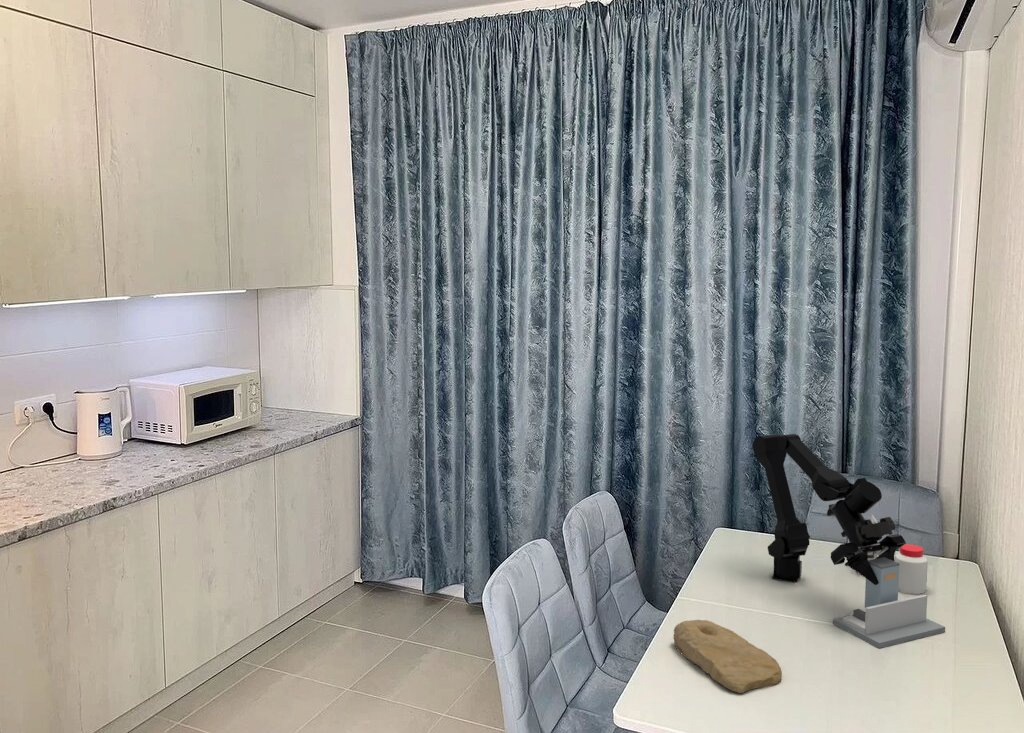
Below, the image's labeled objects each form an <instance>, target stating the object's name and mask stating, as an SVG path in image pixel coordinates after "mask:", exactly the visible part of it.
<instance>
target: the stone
mask: <svg viewBox="0 0 1024 733" xmlns="http://www.w3.org/2000/svg"><path fill="white" fill-rule="evenodd" d="M672 636H673V641H674V647H675V649H676V648H677V649H678V650H679V651H680V652H681V653H682V654H681V653H680V652H679V651H678V650H677V649H676V650H677V651H678V652H679V653H680V654H681V655H682V656H683V655H684V657H685V658H686V659H687V660H689V661H690V662H692V663H693V664H695V665H697V666H698V667H700V668H701V669H702V670H703V671H704V672H705V673H706V674H709V676H710V678H712V680H715V681H716V683H719V684H721V685H722V686H723V687H725V688H726V689H728V690H729V691H732V692H735V693H738V694H743V693H745V692H748V691H750V690H754V689H756V688H757V689H758V688H764V687H769V686H771V687H772V686H774V685H778V684H779V683H780V681H781V680H782V678H783V671H782V667H781V666H780V664H779V662H778V661H777V660H776V659H775V658H774V657H772V655H770V654H769V653H768V652H766V651H765V650H763V649H761V648H759V647H757V646H756V645H754V644H752V643H750V642H749V641H748V640H747V639H745V638H743V637H742V636H741V635H739V634H738V633H736V632H734V631H733V630H731V629H729V628H726V627H724V626H721V625H719V624H716V623H715V622H713V621H710V620H707V619H691V620H683V621H681V622H680V623H677V624H676V625H675V626H674V628H673V635H672Z"/></svg>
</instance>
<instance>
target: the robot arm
mask: <svg viewBox="0 0 1024 733" xmlns="http://www.w3.org/2000/svg"><path fill="white" fill-rule="evenodd" d="M752 450H753V452H754V455H755V458H756V460H757V462H758V463H759V464H760V465H761V466H762V467H763V469H764V470H765V474H766V479H767V483H768V488H769V491H770V495H771V499H772V504H773V507H774V511H775V516H776V521H777V522H776V524H775V527H774V532H773V533H774V540H773V541H772V542H771V543H770V544H769V545H768V546H767V552H768V553H767V554H768V555H769V556H771V557H773V574H772V576H771V579H773V580H776V581H777V580H778V581H784V582H790V583H791V582H792V583H798V581H799V580H800V579H801V577H802V575H803V574H802V572H803V571H802V569H803V567H802V565H803V564H802V563H803V562H802V560H800V559H801V556H806V553H807V551H808V548H809V546H810V538H811V536H810V534H809V532H808V531H809V530H808V525H807V524H806V522H801V521H800V519H799V518H798V517H797V515H796V512H795V511H796V510H795V506H794V503H793V498H792V494H791V491H790V486H789V482H788V479H787V474H786V469H785V467H784V464H785V460H786V457H787V455H788V456H789V457H790V458H791V459H792V461H793V462H794V463H795V464H796V465H797V466H798V467H799V468H800V469H801V470H802V471H803V472H804V474H806V476H807V477H808V478H809V479H810V481H811V488H812V489H813V491H814V492H815V494H816V495H817V497H818V498H819V499H820V500H821V501H823V502H831V501H836V502H835V503H832V504H828V509H827V513H826V516H828V517H830V516H835V518H836V521H837V522H838V524H839V526H840V527H841V529H842V532H841V533H840V534H841V537H842V538H845V537H846V538H847V540H848V541H849V542H847V543H841V544H840V545H838V546H837V547H836V548H835V549H833V551H831V552H830V560H831V561H832V563H833V565H834V566H835V565H836V566H837V565H842V564H844V566H846V567H849V568H851V569H852V570H853V571H855V572H856V573H857V572H858V573H860V574H861V575H860V576H862V577H863V578H865V580H866V579H868V580H869V581H870V582H872V583H873V584H874V585H877V584H878V583H879V582H878V580H877V577H876V575H875V573H874V571H873V570H872V568H871V566H870V564H869V562H868V553H870V552H875V551H876V553H877V558H875V559H878V558H883V557H885V558H887V559H890V560H892V561H895V555H896V554H895V553H896V551H899V550H900V548H901V547H902V546H903V545H905V544H907V542H906V540H905V539H904V538H905V537H903V535H901V534H899V533H896V534H893V531H895V530H896V525H895V522H894V521H893V519H892V518H891V516H888V517H887V516H886V517H883V518H880V519H879V522H878V523H875V522H874V524H873V523H872V522H871V519H865V517H864V516H863V514H866V513H867V512H869V510H871V509H872V508H873V507H875V505H877V503H879V502H880V501H881V500H882V496H883V495H882V492H881V489H880V487H877V486H876V485H875V484H874V483H873V482H870V481H868V480H867V479H866V477H859V478H857V479H856V480H855V481H854V483H852V482H850V481H849V480H848V479H847V478H846V477H845V476H844V475H843V474H841V473H840V472H838V471H836V470H835V469H832V468H830V467H828V466H826V465H825V464H824V463H823V462H822V461H821V460H820V459H819V458H818V457H817V456H816V454H815V453H813V451H812V450H811V449H810V448H809V447H808V446H807V445H806V444H805V443H804V442H803V441H802V439H801V436H799V435H798V434H796V433H790V434H789V433H788V434H782V435H780V434H779V433H771V434H763V435H762V434H761V435H757V436H756V437H755V438H754V439H753V442H752ZM883 536H885V537H884V538H883ZM877 541H878V542H877ZM872 547H873V548H872ZM845 561H846V562H845ZM858 573H857V574H858Z"/></svg>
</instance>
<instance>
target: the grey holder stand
mask: <svg viewBox="0 0 1024 733" xmlns="http://www.w3.org/2000/svg"><path fill="white" fill-rule="evenodd" d="M927 606H928V595H926V594H919V595H917V596H911V597H908V598H903V599H898V601H893V602H889V603H884V604H880V605H875V606H871V607H866V608H865V611H864V610H862V609H860V608H856V609H853V610H852V611H853V612H852V614H849V615H848V614H847V615H844V616H843V615H842V616H840V617H839V616H838V617H835V618H832V625H835V626H836V627H838V628H840V629H842V630H844V631H846V632H848V633H849V634H850V635H851V634H852V635H854V636H855V637H857V638H859V639H861V640H862V641H865V642H866V643H869V644H870V645H872V646H874V647H875V648H878V649H882V648H886V647H889V646H893V645H897V644H902V643H906V642H910V641H915V640H917V639H922V638H926V637H930V636H934V635H935V636H936V635H938V634H942V633H946V626H944V625H942V624H940V623H938V622H936V621H933V620H931V619H929V618H927V612H928V611H927V610H928V607H927Z"/></svg>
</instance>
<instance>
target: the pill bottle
mask: <svg viewBox="0 0 1024 733" xmlns="http://www.w3.org/2000/svg"><path fill="white" fill-rule="evenodd" d="M894 560H895V562H897V563H900V564H899V586H898V592H900V591H901V592H900V593H903V592H904V594H908V593H909V594H908V595H921V594H920V593H923V594H925V593H926V592H927V587H928V586H927V585H928V584H927V583H928V562H929V560H928V557H927V556H926V555H924V547H922V546H919V545H916V544H908V543H906V544H904V545H903V546H902V547H901V548H899V551H898V552H896V554H894ZM924 592H925V593H924Z"/></svg>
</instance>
